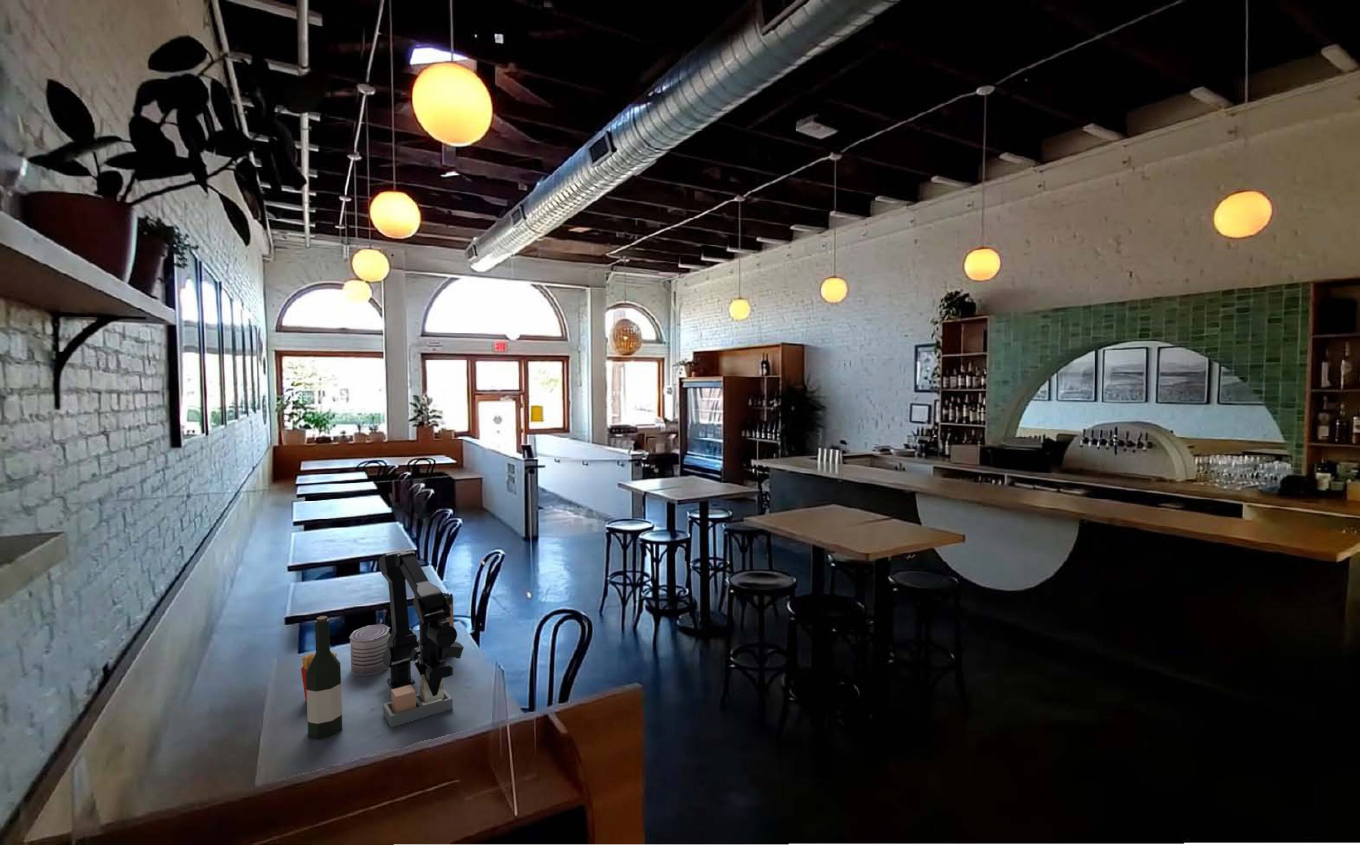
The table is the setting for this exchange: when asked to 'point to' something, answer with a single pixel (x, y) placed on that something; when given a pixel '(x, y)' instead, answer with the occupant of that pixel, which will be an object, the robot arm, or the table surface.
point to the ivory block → (426, 692)
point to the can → (369, 649)
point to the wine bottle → (323, 687)
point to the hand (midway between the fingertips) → (432, 692)
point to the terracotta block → (403, 699)
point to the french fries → (304, 668)
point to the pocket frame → (417, 710)
